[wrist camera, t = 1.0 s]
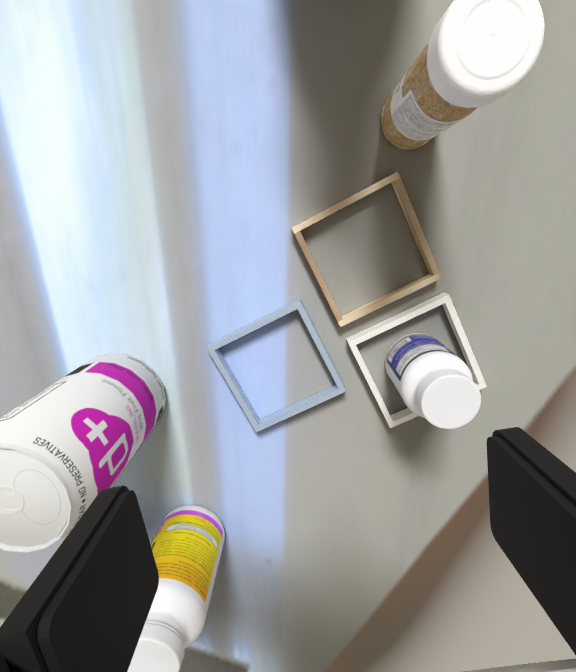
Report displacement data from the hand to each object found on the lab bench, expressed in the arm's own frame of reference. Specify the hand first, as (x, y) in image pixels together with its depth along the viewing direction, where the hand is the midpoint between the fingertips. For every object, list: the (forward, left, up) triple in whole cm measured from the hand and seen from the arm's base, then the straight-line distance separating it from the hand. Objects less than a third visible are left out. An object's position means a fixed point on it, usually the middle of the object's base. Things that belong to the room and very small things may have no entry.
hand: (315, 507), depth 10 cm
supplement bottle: (+20, +15, -25) cm, 35 cm away
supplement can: (+18, -1, -25) cm, 31 cm away
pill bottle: (-7, +8, -25) cm, 27 cm away
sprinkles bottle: (-14, -10, -25) cm, 30 cm away
